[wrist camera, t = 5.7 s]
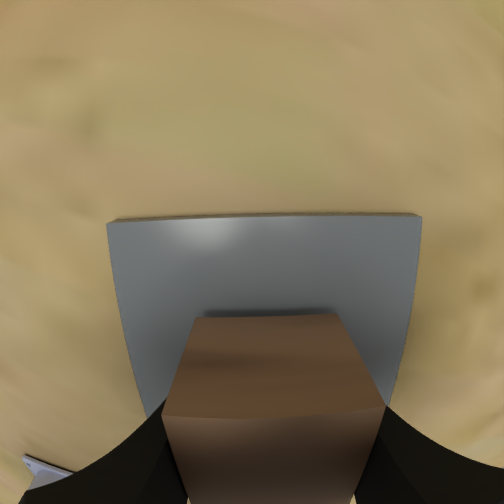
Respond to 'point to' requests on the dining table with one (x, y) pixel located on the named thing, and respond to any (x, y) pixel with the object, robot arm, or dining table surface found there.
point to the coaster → (263, 282)
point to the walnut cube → (271, 411)
